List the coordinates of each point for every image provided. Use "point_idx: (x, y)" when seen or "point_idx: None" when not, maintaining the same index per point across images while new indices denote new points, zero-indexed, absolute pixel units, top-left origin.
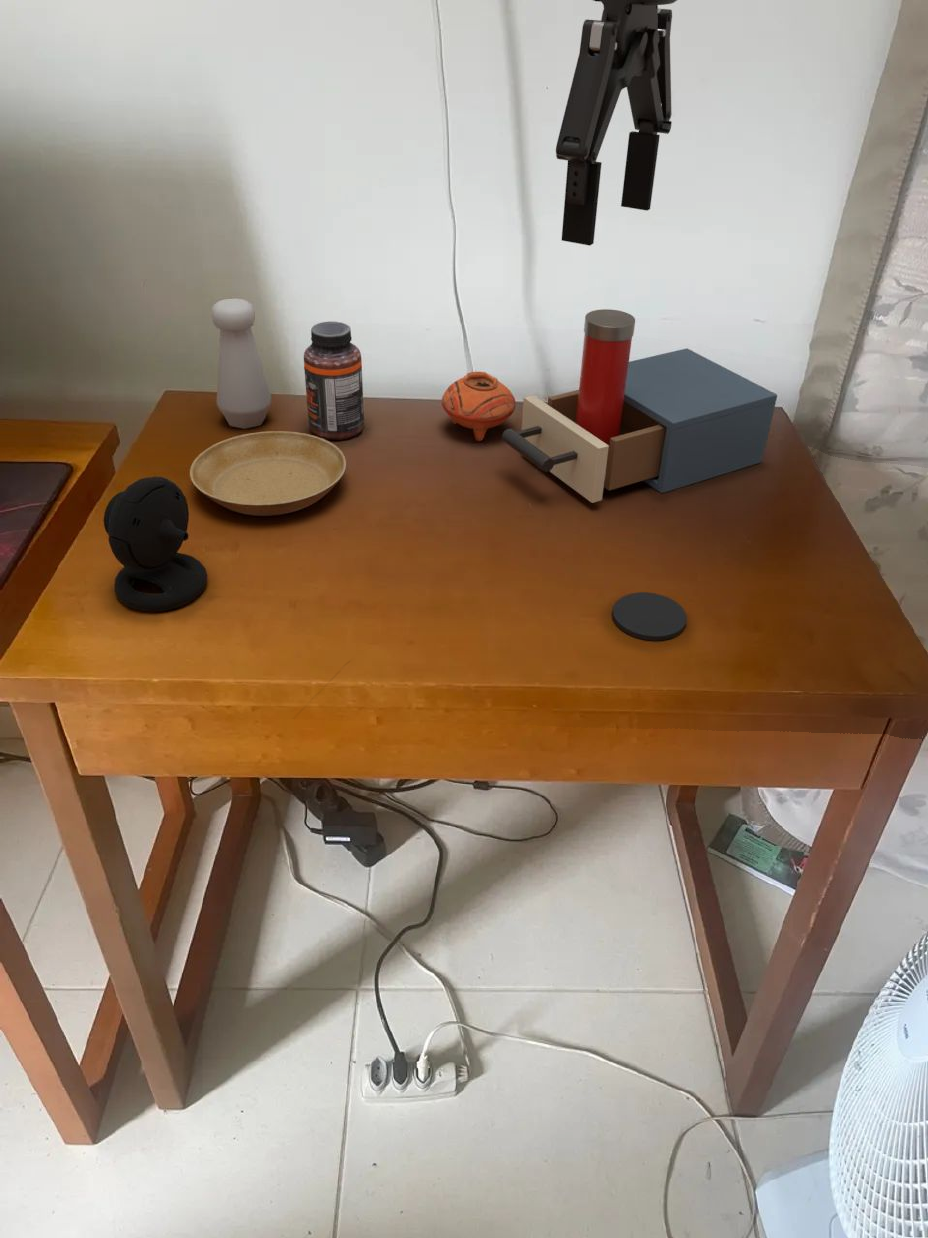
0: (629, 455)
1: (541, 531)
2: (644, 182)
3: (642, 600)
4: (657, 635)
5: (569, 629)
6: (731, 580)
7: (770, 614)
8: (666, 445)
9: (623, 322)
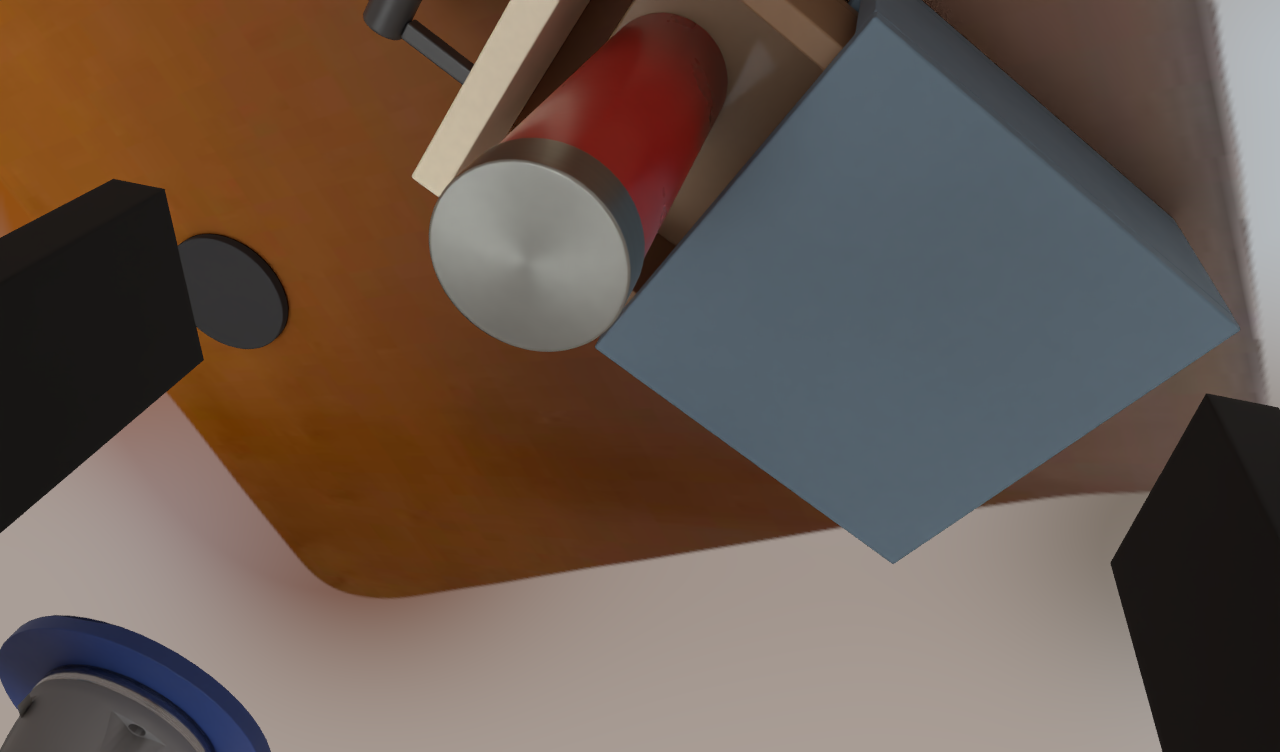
0: None
1: (346, 25)
2: (1182, 688)
3: (245, 280)
4: None
5: (119, 176)
6: (410, 398)
7: (360, 451)
8: None
9: (509, 315)
